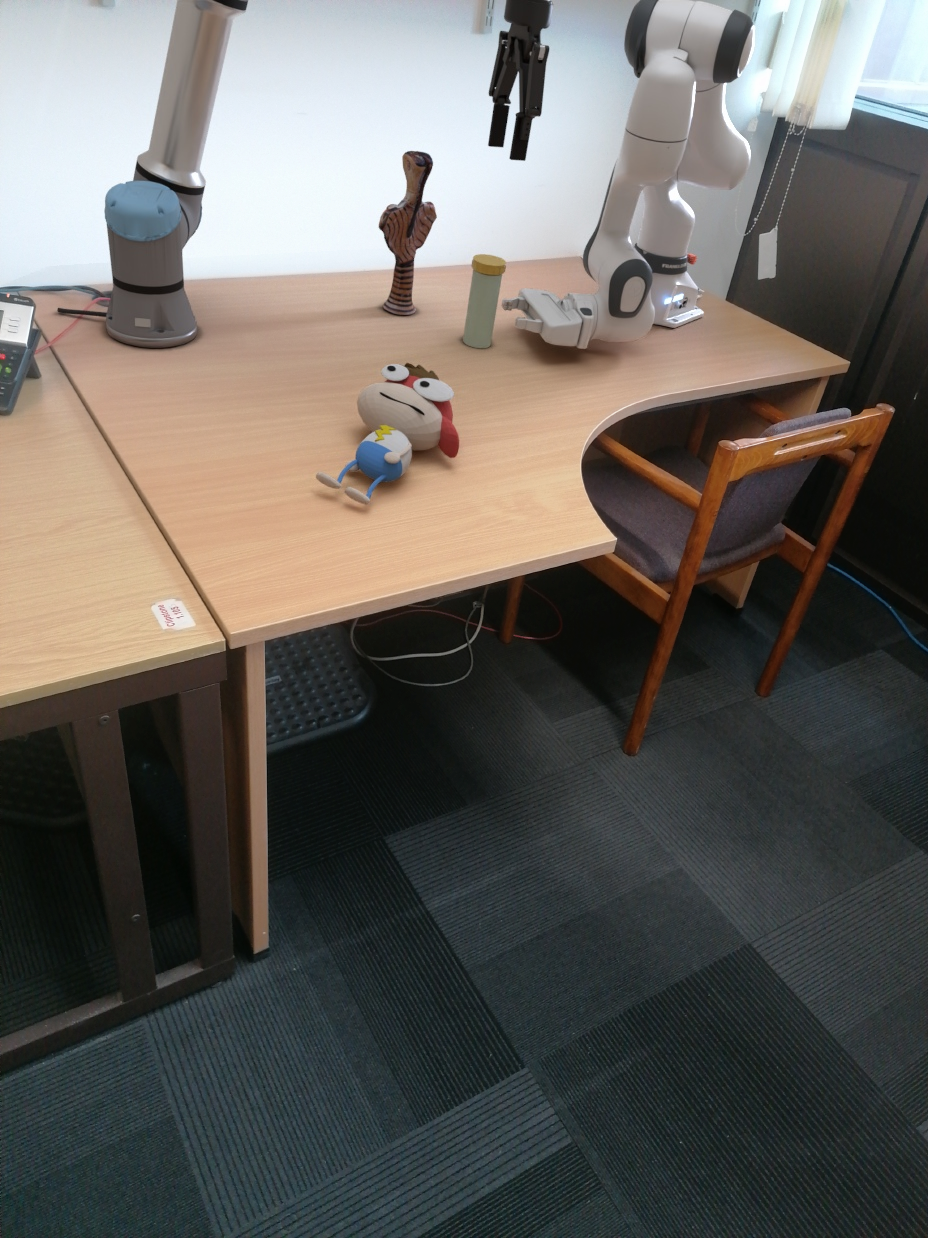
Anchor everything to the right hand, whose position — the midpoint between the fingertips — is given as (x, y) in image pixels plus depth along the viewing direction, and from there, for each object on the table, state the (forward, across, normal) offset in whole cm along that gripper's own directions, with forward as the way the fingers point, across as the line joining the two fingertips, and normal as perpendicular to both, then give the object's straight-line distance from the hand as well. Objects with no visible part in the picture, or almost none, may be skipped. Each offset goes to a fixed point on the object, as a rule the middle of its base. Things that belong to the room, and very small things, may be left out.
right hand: (509, 313), depth 173 cm
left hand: (+6, 0, -28) cm, 29 cm away
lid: (+6, 0, -10) cm, 11 cm away
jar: (+6, 0, +6) cm, 8 cm away
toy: (+32, +46, +6) cm, 56 cm away
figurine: (+18, -16, +6) cm, 25 cm away
